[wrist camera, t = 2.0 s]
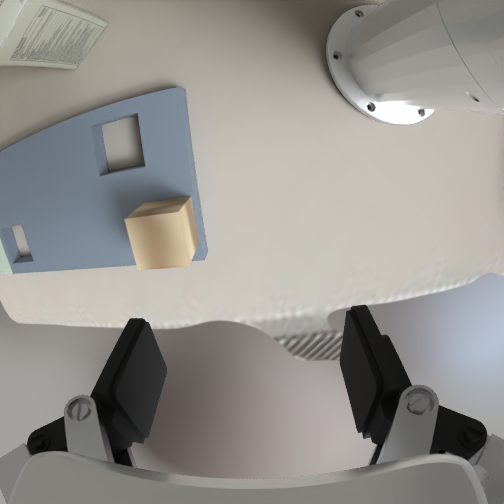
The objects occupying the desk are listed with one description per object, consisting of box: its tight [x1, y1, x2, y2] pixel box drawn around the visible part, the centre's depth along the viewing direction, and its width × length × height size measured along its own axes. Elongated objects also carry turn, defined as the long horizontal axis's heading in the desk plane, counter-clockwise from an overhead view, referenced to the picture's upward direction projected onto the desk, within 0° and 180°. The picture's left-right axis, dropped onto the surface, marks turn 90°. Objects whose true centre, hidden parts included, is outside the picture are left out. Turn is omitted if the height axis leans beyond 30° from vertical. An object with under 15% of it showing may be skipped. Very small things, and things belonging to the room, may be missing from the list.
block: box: [125, 196, 199, 270], centre depth 23 cm, size 4×4×4 cm
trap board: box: [0, 87, 208, 274], centre depth 24 cm, size 34×16×4 cm, turn 95°
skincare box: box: [0, 0, 108, 70], centre depth 13 cm, size 6×4×12 cm
